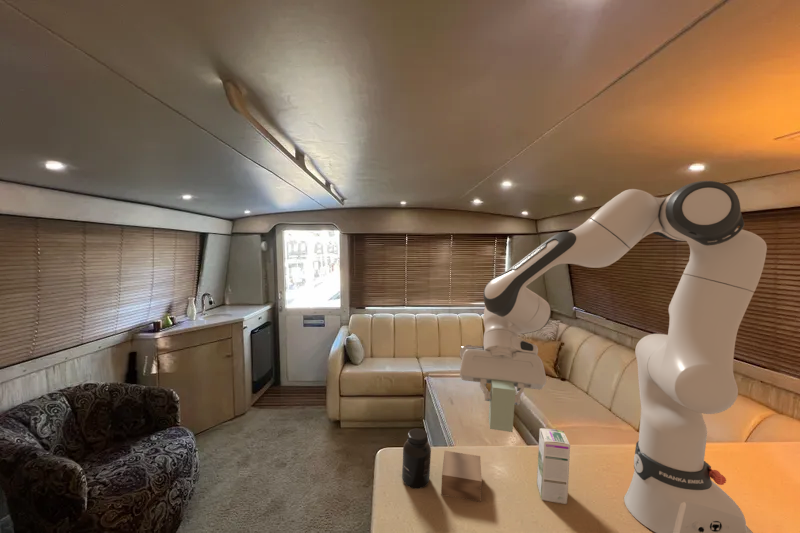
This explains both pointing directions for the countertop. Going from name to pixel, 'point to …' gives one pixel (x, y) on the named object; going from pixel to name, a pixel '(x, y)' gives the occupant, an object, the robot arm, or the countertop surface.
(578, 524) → the countertop surface
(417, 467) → the supplement bottle
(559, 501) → the syrup box
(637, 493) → the robot arm
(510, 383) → the sage block
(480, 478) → the block
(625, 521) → the countertop surface
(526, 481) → the countertop surface
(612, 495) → the countertop surface
